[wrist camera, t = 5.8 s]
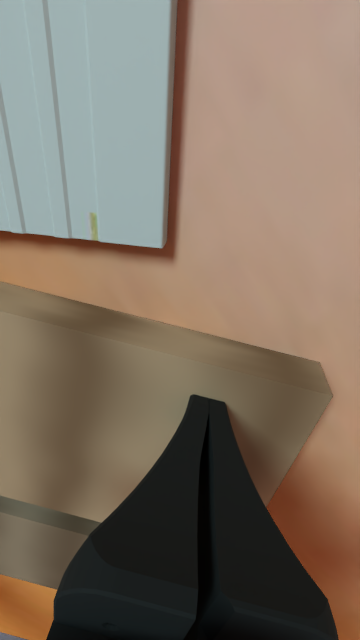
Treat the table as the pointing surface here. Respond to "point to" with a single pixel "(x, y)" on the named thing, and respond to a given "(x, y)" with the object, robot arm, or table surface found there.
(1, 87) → the baseboard
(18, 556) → the floor panel
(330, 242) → the table surface
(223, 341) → the plank
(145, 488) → the robot arm
